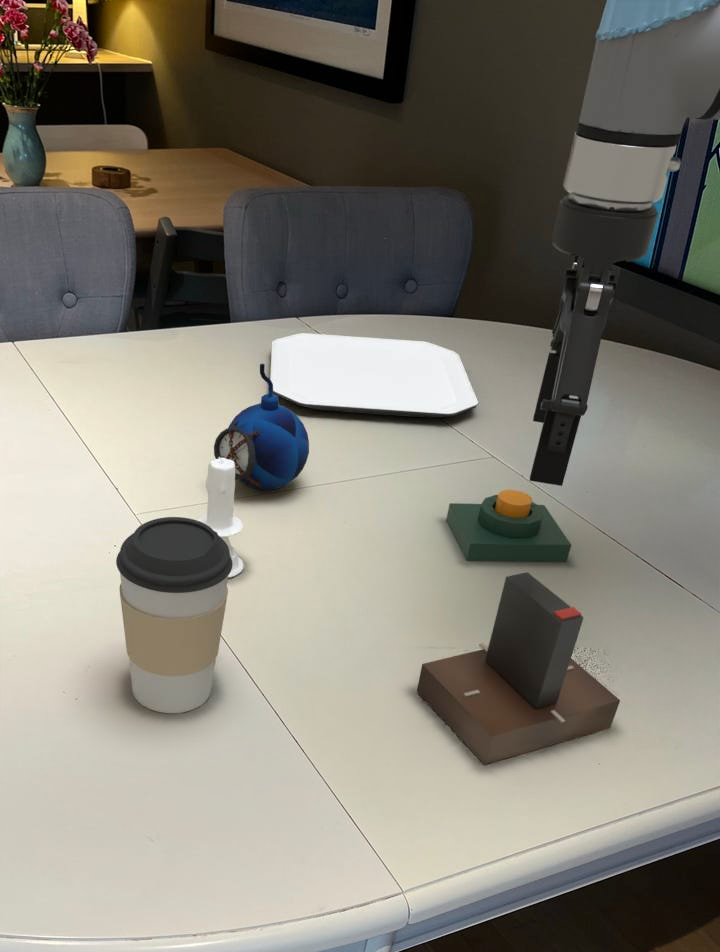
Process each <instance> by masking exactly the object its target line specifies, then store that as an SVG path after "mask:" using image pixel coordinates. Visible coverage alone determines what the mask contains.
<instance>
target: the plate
mask: <svg viewBox="0 0 720 952" xmlns="http://www.w3.org/2000/svg"><path fill="white" fill-rule="evenodd" d="M270 349H271V350H270V351H271V352H270V372H269V373H270V374H269V375H270V376H269V379H270V380H271V381H272V384H273V395H276V396H277V397H280V398H283V399H285V400H287V401H289V402H292V403H294V404H296V405H298V406H301V407H305V408H309V409H311V410H312V409H313V410H316V411H317V410H318V411H325V412H328V411H329V412H340V413H341V412H342V413H353V414H355V413H356V414H369V415H383V416H397V417H411V418H412V417H413V418H426V419H427V418H429V419H430V418H441V417H443V418H444V417H453V416H457V415H459V414H462V413H464V412H467V411H470V410H472V409H475V408H477V407H478V405H479V401H478V398H477V396H476V393H475V391H474V389H473V386H472V383H471V380H470V379H469V376H468V374H467V372H466V369H465V367H464V363H463V362H462V360H461V357H460V355H459V353H457V352H455V351H454V350H451V349H448V348H445V347H443V346H440V345H437V344H435V343H431V342H429V341H424V340H423V341H421V340H409V339H408V340H407V339H396V338H395V339H394V338H381V337H379V338H378V337H365V336H353V335H352V336H351V335H337V334H322V333H307V332H300V333H295V334H290V335H287V336H282V337H280V338H276V339H274V340H273V341H271V348H270Z"/></svg>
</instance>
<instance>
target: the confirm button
mask: <svg viewBox="0 0 720 952" xmlns="http://www.w3.org/2000/svg"><path fill="white" fill-rule="evenodd" d="M497 495H498V497H497V502H496V506H495V511H496V512H498V513H500V514H501V515H504V516H508V517H511V518H525V517H528V515H529V511H530V508H531V504H532V502H533V498H532V497H531V495H529V494H528V493H525V492H524V491H521V490H516V489H504V490H501V491H499V492H498V493H497Z"/></svg>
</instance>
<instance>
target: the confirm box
mask: <svg viewBox="0 0 720 952" xmlns="http://www.w3.org/2000/svg"><path fill="white" fill-rule="evenodd" d="M497 497H498V494H494V495H491V496H487V497H485V498H484V499H483V501H482V502H481V503H456V502H454V503H452V502H451V503H450V502H449V504H448V509H447V514H446V520H445V521H446V523H447V525H448V526H449V529H450V530H451V532H452V535H453V537H454V538H455V540H456V543H457V544H458V547H459V549H460V550H461V553H462V555H463V556H464V559H465V560H466V561H467V562H513V563H514V562H515V563H516V562H518V563H520V562H521V563H523V562H524V563H525V562H526V563H567V562H568V559H569V555H570V550H571V548H572V543H571V542H570V540H569V539H568V538H567V536H566V535H565V533H564V532H563V530H562V529H561V527H560V526H559V524H558V523H557V521H556V520H555V519H554V517H553V516H552V514H551V513H550V511H549V510H548V509H547V507H546V505H544V504H538V503H535V502H534V501H532V504H531V508H530V511H529V515H528V517H525V518H511V517H508V516H504V515H501V514H500V513H498V512H496V511H495V506H496V502H497Z"/></svg>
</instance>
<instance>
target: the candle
mask: <svg viewBox="0 0 720 952" xmlns="http://www.w3.org/2000/svg"><path fill="white" fill-rule="evenodd" d="M207 467H208V468H207V477H206V480H205V487H206V491H207V507H206V508H207V511H206V514H204V515H202V516H200V517H199V518H198V519H196V520H197V521H200V522H202V523H204V524H206V525H208V526H209V527H210V528H212V529H213V530H214V531H215V532H217V534H218V535H219V536H220V537H221V538H222V539H223V540H224V541H225V542H226V544H227V545H228V548H229V551H230V556H231V559H232V563H233V565H232V570H231V572H230V574H229V575H228V579H230V578H234V577H236V576H238V575H239V574H241V573H242V571H243V570H244V566H245V563H244V561H243V559H242V558H240V556H238V552H237V550H236V548H235V547H233V546H232V544H231V542H230V538H229V537H232V536H236V535H238V534H239V533H240V532H241V531H242V530H243V529H244V524H243V521H242V520H241V519H239V518H238V517H236V516H235V515H234V504H235V503H234V502H235V488H236V479H235V463H234V461H233V460H228V459H225V458H220V457H219V459H216V458H214V459H213V460H210V461H209V463H208V466H207Z"/></svg>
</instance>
